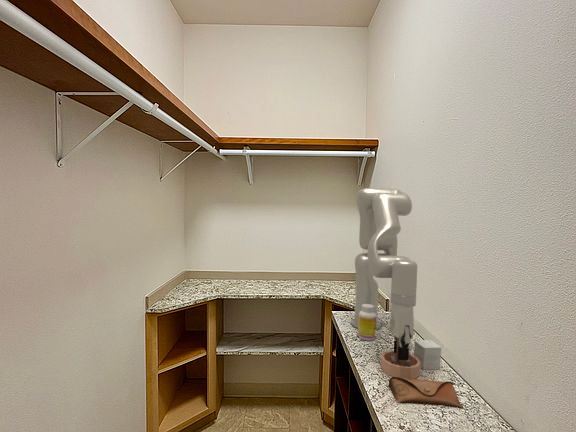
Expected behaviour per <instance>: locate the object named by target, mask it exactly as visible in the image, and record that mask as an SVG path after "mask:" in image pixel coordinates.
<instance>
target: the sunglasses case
mask: <svg viewBox="0 0 576 432" xmlns="http://www.w3.org/2000/svg"><path fill="white" fill-rule="evenodd" d="M388 388H389V390H390V392H391V394H392V396H393V398H394V399H395V401H396V403H397V404H416V405H427V404H428V405H429V406H438V405H443V407H449V406H450V407H449V408H456V407H458V408H457V409H464V406H463V404H461V402H460V400H459V397H458V394H457V391H456V390H455V386H454V382H452V381H451V380H450V381H449V380H448V381H447V380H446V381H440V380H438V381H437V380H428V379H420V378H419V379H417V378H415V379H405V378H399V377H392V376H391V377H390V378H389V380H388Z"/></svg>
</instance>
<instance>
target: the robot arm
mask: <svg viewBox="0 0 576 432" xmlns="http://www.w3.org/2000/svg"><path fill="white" fill-rule="evenodd" d="M356 206H357V210H358V213H359V233H358V234H359V236H358V239H359V241H358V242H359V246H360V248H361V249H363V250H367V252H362V253H359V254H357V255H356V256H355V258H354V270H355V300H354V301H355V302H354V303H355V304H354V318H352V319H350V325H351V326H352V327H354V328H356V329H358V328H359V312H360V311H362V305H363V304H371V305H373V306H374V310H373V312H375V313H376V331H377V330H379V329H380V328H381V327H382V326H381V325H382V324H381V322H379V321H378V305H379V284H378V282H377V281H376V280H375V278H378V279H391V284H390V303H391V308H390V318H389V329H390V330H391V332H392V334H393V335H394V336H393V339H394V340H393V351H394V353H396V348H397V338H399V346H398V360H408V359H409V354H410V345H411V340H412V339H413V337H414V325H415V323H414V322H415V321H414V317H415V315H414V307H416V305H417V288H418V287H417V283H418V264H417V262H415V261H414V260H411V258H409V257H408V256H406V255H405V256H404V255H398V236H397V235H398V234H400V232H401V229H402V227H401V224H400V219H399V218H400V217H399V216H401V217H402V216H403V217H404V216H408V215H410V214H411V211H412V209H413V203H412V200H411V198H410V195H408V194H407V193H406V192H404V191H402V190H400V189H397V188H384V187H383V188H382V187H366V188H360V189H359V191H358V192H357V194H356ZM378 251H383V253H381V252H380V253H379V252H378ZM374 277H375V278H374ZM403 335H404V336H405V337H402V336H403ZM402 339H404V341H403V342H402Z"/></svg>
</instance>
